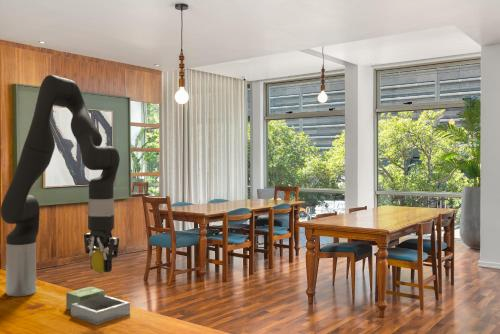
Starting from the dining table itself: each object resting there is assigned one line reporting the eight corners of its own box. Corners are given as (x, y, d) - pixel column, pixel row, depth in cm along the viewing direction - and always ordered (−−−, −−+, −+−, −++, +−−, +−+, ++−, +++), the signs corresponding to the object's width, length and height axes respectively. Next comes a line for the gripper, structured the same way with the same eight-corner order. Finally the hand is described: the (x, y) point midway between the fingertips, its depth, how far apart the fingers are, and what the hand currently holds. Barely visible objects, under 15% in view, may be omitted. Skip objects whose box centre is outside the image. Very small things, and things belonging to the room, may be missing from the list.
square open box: (57, 311, 155) (57, 294, 155) (91, 301, 165) (91, 286, 165) (96, 324, 144) (96, 307, 144) (129, 314, 153) (130, 297, 153)
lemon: (105, 277, 149) (105, 249, 148) (87, 276, 150) (87, 249, 149) (113, 272, 154) (113, 246, 154) (96, 271, 155) (96, 245, 155)
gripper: (75, 212, 152) (75, 268, 153) (106, 217, 144) (106, 276, 145) (96, 210, 158) (96, 264, 159) (127, 214, 150) (126, 271, 151)
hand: (101, 269), depth 152 cm, fingers closed on lemon, 5 cm apart
